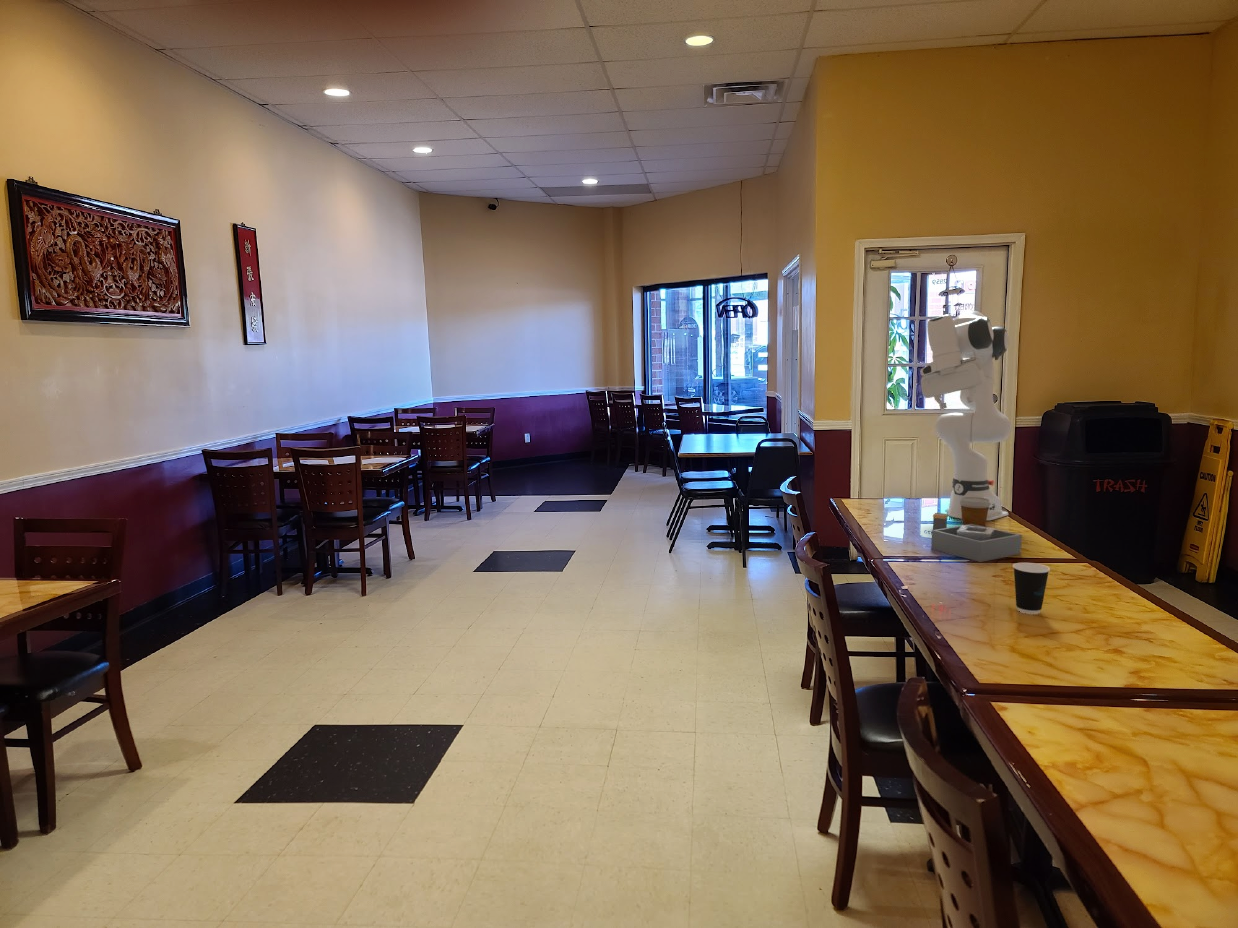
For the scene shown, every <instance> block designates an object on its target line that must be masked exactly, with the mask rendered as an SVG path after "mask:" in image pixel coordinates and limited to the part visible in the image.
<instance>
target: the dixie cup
mask: <svg viewBox="0 0 1238 928" xmlns="http://www.w3.org/2000/svg"><path fill="white" fill-rule="evenodd" d="M1012 568H1013V573H1014V577H1013V578H1014V589H1015V593H1014V595H1015V605H1016V607H1017V611H1018V612H1019V611H1020V612H1019V613H1022V614H1025V613H1026V614H1025V615H1033V614H1034V615H1039V614H1040V613H1041V610H1042V608H1043V604H1044V598H1045V593H1046V587H1047V582H1048V577H1049V572H1050V571H1051V568H1050V567H1049V566H1047V565H1045V564H1041V563H1035V562H1017V563H1013V564H1012ZM1038 613H1039V614H1038Z"/></svg>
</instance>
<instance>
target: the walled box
mask: <svg viewBox="0 0 1238 928" xmlns="http://www.w3.org/2000/svg"><path fill="white" fill-rule="evenodd" d="M962 525H963V524H961V525H956V526H950V527H947V528H943V529H937V530H933V529H932V530H931V546H930V548H931V550H934V551H938V552H943V553H946V554H949V555H953V556H957V557H960V558H964V559H968V560H971V561H975V562H980V563H983V562H987V561H988V562H989V561H992V560H993V561H994V560H998V559H1003V558H1007V557H1012V556H1018V555H1021V554H1022V553H1021V552H1022V538H1023V537H1022V534H1019V533H1014V532H1009V531H1005V530H1002V529H996V528H995V539H990V540H984V541H978V540H974V539H970V538H965V537H961V536H957V530H958V529H959V528H960V527H961V526H962ZM967 525H969V526H979V525H974V524H967ZM979 527H983V526H979Z"/></svg>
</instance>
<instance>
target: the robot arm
mask: <svg viewBox="0 0 1238 928" xmlns="http://www.w3.org/2000/svg"><path fill="white" fill-rule="evenodd" d="M926 325H927V327H926V329H927V337H928V338H927V339H928V343H929V346H930V350H931V351H932V357H931V358H932V361H931V362H930V363H929V364H927V365H926V366H924V367H922V368H921V369H920V370H919V372H920V375H921V376H922V377H921V379H920V387H921V392H922V396H923V397H924V398H926V399H932V398H934V401H936V403H937V404H939V405H938V406H939V408H940V410H943V409H944V410H945V409H947V408H948V407H947V402H943V400H942V397H943V395H947V394H951V393H956V392H959V399H960V401H961V403H962V404H963V406H966V407H967V408H968V409H971V410H973V411H974V412H948V413H943V414H941V415H939V416H938V417H937V419H936V421H935V425H934V430H935V433H936V436H937V437H938V438H939V440H941V441H943V442H944V444H946V445H947V447H948V448H949V450H950V452H951V454H952V457H953V463H954V464H953V465H954V467H953V468H954V471H953V473H954V474H953V476H954V477H953V478H952V482H951V483H952V491H951V492H950V497H949V504H948V505H949V506H948V508H947V509H946V513H947V514H948V516H949V517H951V518H956V519H961V520H962V512H961V505H960V501H961V498H964V497H979V498H985V499H988V500H989V503H990V506H989V509H988V514H987V519H986V521H992V520H997V519H1000V518H1003V517H1007V516H1009V513H1008V511H1006V510H1003V509H1002V499H1000V497H999V496H997V495H996V494H995V493H994V492H993V491H992V490H991V489H990V486H994V485H995V480H994V479H987V477H988V476H987V474H988V472H987V471H988V460H987V458H986V456H985V455H983V454H982V453H980V452H978V451H976V450H974V449H973V448H972V447H971V444H972V443H979V444H980V443H982V444H984V443H985V444H993V443H995V444H996V443H1000V442H1001V443H1003V442H1005V441H1006V440H1007V439H1008V438H1009V437H1010V436H1011V433H1012V429H1013V426H1012V422H1011V420H1010V418H1008V416H1007V415H1005V414H1004V413H1002V412H1001V411H1000V410H999V408H997V406H996V405H995V401H994V393H993V392H994V384H995V383H994V380H995V369H994V362H993V359H994V361H998V360H999V358H1001V357H1002V356H1003V355H1004V354H1005V353H1006V351H1007V350H1008V347H1009V345H1010V336H1009V333H1008V330H1007V329H1006V328H1005V327H1001V326H994V327H993V326H992V324H991V320H990V319H989V317H988V316H985V315H984V314H983V313H982V312H980V311H977V310H967V311H964V312H962V313H959V314H958V315H957V316H956V317H954V319H953V315H951V314H943V315H940V316H937V317H933V318H931V319H929V320H928V321H927V323H926Z"/></svg>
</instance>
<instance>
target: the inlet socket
mask: <svg viewBox="0 0 1238 928" xmlns="http://www.w3.org/2000/svg"><path fill="white" fill-rule="evenodd" d="M961 525H962V526H961ZM961 525H960V526H961V527H960V528H959V529H958V530H957V536H961V537H965V538H970V539H974V540H978V541H984V540H990V539H995V529H996V528H995V527H988V526H985V527H979V526H969V525H963V524H961Z"/></svg>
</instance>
